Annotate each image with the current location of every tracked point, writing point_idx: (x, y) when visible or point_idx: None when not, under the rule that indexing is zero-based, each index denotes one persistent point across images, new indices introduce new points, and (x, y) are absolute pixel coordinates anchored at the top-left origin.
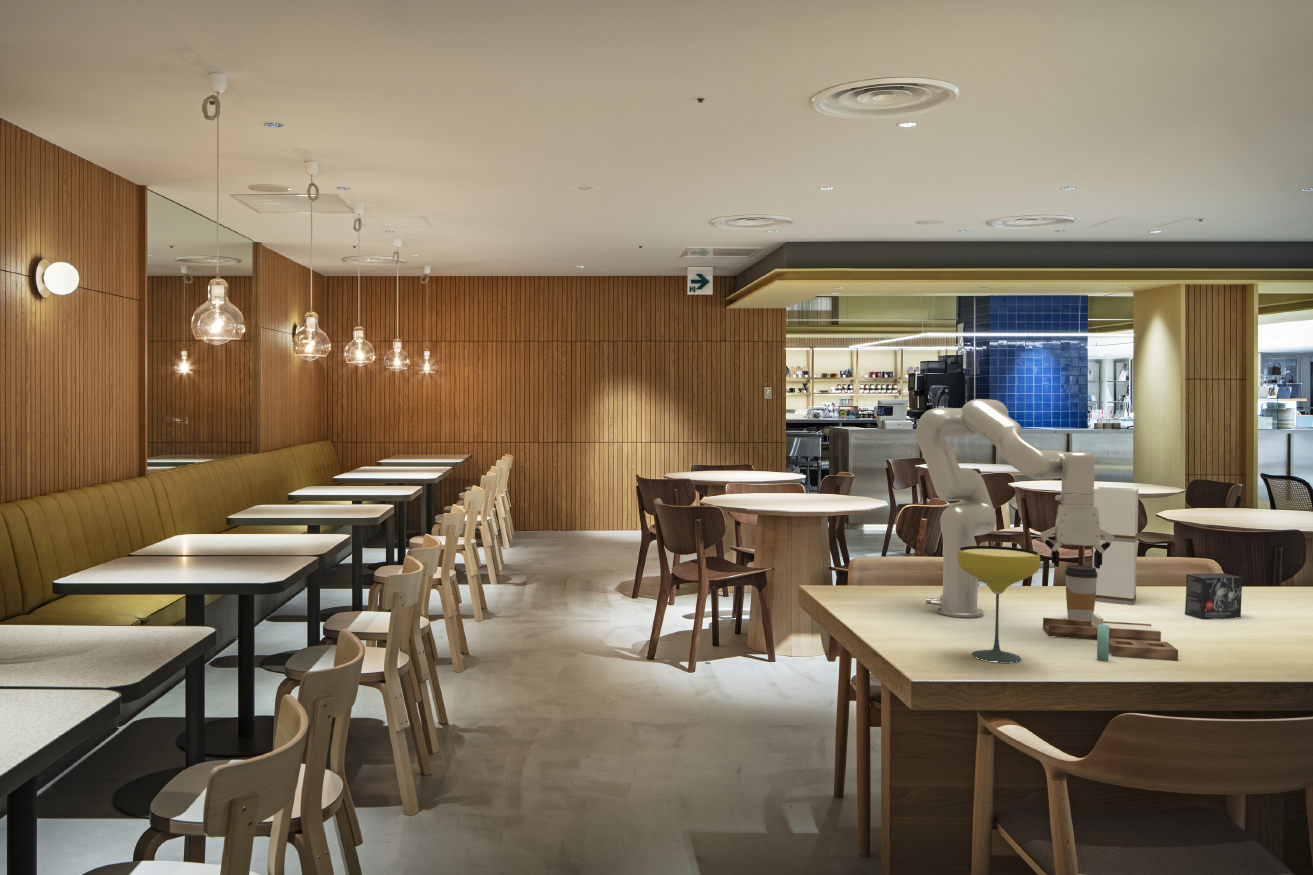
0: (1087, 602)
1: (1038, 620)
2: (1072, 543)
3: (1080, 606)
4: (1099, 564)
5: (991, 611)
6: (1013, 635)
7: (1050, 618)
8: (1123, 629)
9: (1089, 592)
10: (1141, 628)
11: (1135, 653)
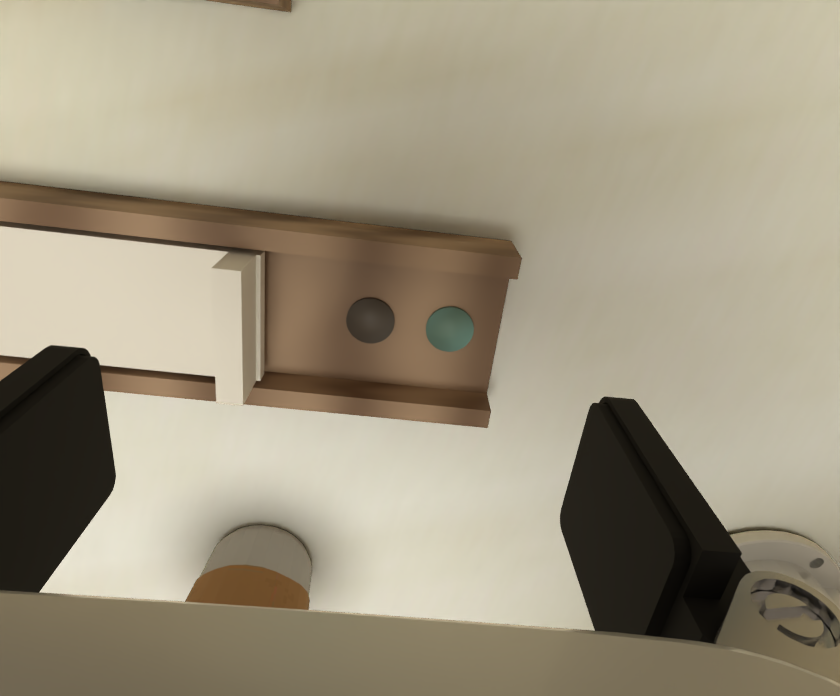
0: (218, 594)
1: (443, 539)
2: (502, 639)
3: (257, 578)
4: (27, 369)
5: None
6: (692, 234)
7: (455, 413)
8: (121, 214)
9: None
10: (16, 277)
11: None
